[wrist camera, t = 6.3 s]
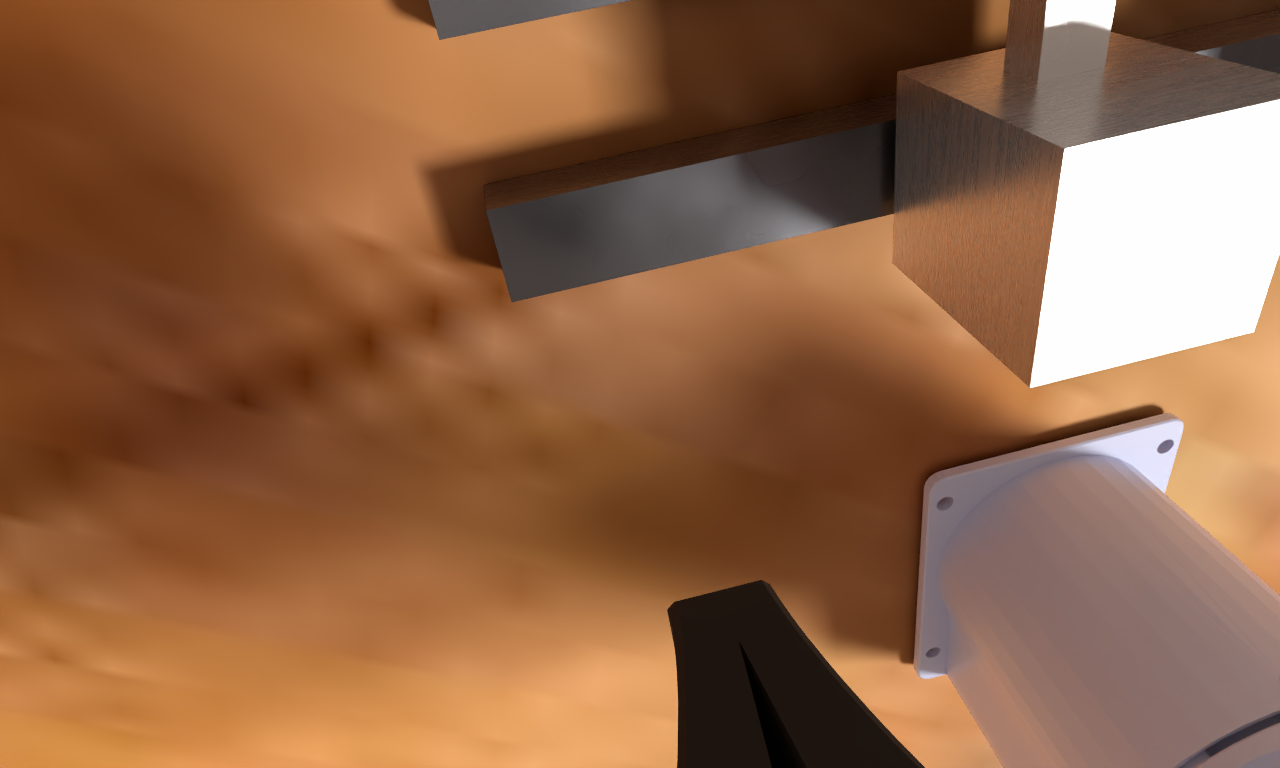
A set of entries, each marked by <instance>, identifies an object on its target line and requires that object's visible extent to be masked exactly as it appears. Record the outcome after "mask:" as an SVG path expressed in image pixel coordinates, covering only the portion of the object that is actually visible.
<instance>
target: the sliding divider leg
mask: <svg viewBox="0 0 1280 768" xmlns="http://www.w3.org/2000/svg"><path fill="white" fill-rule="evenodd" d="M1115 2H1116V0H1010V7H1009V17H1008V28H1007V38H1006V48H1003V49H998V50H994V51H989V52H985V53H980V54H976V55H971V56H966V57H962V58H957V59H953V60H948V61H944V62H939V63H934V64H930V65H925V66H921V67H916V68H912V69H907V70H903V71H898V72H897V104H896V145H895V187H894V229H893V264H894V265H895V266H896V267H897V268H898V269H899V270H901V271H902V272H903V273H904V274H905V275H906V276H907V277H908V278H909V279H910V280H912V281H913V282H914V283H915V284H916V285H917V286H918V287H919V288H920V289H921V290H923V291H924V292H925V293H926V294H927V295H928V296H929V297H930V298H931V299H933V300H934V301H935V302H936V303H937V304H938V305H939V306H940V307H941V308H942V309H944V310H945V311H946V312H947V313H948V314H949V315H950V316H951V317H952V318H953V319H955V320H956V321H957V322H958V323H959V324H960V325H961V326H962V327H963V328H964V329H966V330H967V331H968V332H969V333H970V334H971V335H972V336H973V337H974V338H975V339H977V340H978V341H979V342H980V343H981V344H982V345H983V346H984V347H985V348H987V349H988V350H989V351H990V352H991V353H992V354H993V355H994V356H995V357H996V358H998V359H999V360H1000V361H1001V362H1002V363H1003V364H1004V365H1005V366H1006V367H1007V368H1009V369H1010V370H1011V371H1012V372H1013V373H1014V374H1015V375H1016V376H1017V377H1018V378H1020V379H1021V380H1022V381H1023V382H1024V383H1025V384H1026V385H1027V386H1028V387H1030V388H1032V387H1036V386H1040V385H1044V384H1048V383H1052V382H1056V381H1060V380H1064V379H1068V378H1072V377H1076V376H1080V375H1084V374H1088V373H1092V372H1096V371H1100V370H1103V369H1107V368H1111V367H1115V366H1119V365H1123V364H1127V363H1131V362H1135V361H1139V360H1143V359H1147V358H1151V357H1155V356H1159V355H1163V354H1167V353H1171V352H1175V351H1179V350H1183V349H1187V348H1191V347H1195V346H1199V345H1203V344H1207V343H1211V342H1215V341H1219V340H1223V339H1227V338H1231V337H1235V336H1239V335H1243V334H1247V333H1251V332H1254V330H1255V327H1256V324H1257V320H1258V317H1259V314H1260V311H1261V308H1262V305H1263V302H1264V299H1265V296H1266V293H1267V290H1268V287H1269V283H1270V280H1271V277H1272V274H1273V271H1274V268H1275V265H1276V262H1277V259H1278V256H1279V253H1280V74H1278V73H1274V72H1270V71H1266V70H1262V69H1258V68H1254V67H1250V66H1246V65H1242V64H1238V63H1234V62H1230V61H1226V60H1222V59H1218V58H1214V57H1209V56H1205V55H1201V54H1197V53H1193V52H1189V51H1185V50H1181V49H1177V48H1173V47H1169V46H1165V45H1161V44H1157V43H1153V42H1149V41H1145V40H1141V39H1137V38H1133V37H1129V36H1125V35H1121V34H1117V33H1113V32H1111V26H1112V20H1113V14H1114V8H1115Z"/></svg>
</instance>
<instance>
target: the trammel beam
mask: <svg viewBox="0 0 1280 768" xmlns="http://www.w3.org/2000/svg"><path fill="white" fill-rule="evenodd" d="M1143 40H1145V41H1149V42H1153V43H1157V44H1161V45H1165V46H1169V47H1173V48H1177V49H1181V50H1185V51H1189V52H1193V53H1197V54H1201V55H1205V56H1209V57H1214V58H1218V59H1222V60H1226V61H1230V62H1234V63H1238V64H1242V65H1246V66H1250V67H1254V68H1258V69H1262V70H1266V71H1270V72H1274V73H1278V74H1280V9H1279V10H1274V11H1269V12H1265V13H1260V14H1256V15H1251V16H1247V17H1242V18H1238V19H1233V20H1229V21H1224V22H1220V23H1215V24H1211V25H1206V26H1202V27H1197V28H1192V29H1188V30H1183V31H1179V32H1174V33H1170V34H1165V35H1161V36H1156V37H1152V38H1147V39H1143ZM896 104H897V94H894V95H889V96H885V97H880V98H876V99H871V100H867V101H862V102H857V103H853V104H848V105H844V106H839V107H835V108H830V109H826V110H821V111H817V112H812V113H808V114H803V115H799V116H794V117H790V118H785V119H780V120H776V121H771V122H767V123H762V124H758V125H753V126H749V127H744V128H740V129H735V130H731V131H726V132H722V133H717V134H713V135H708V136H704V137H699V138H694V139H690V140H685V141H681V142H676V143H672V144H667V145H663V146H658V147H654V148H649V149H645V150H640V151H636V152H631V153H627V154H622V155H618V156H613V157H608V158H604V159H599V160H595V161H590V162H586V163H581V164H577V165H572V166H568V167H563V168H559V169H554V170H550V171H545V172H541V173H536V174H531V175H527V176H522V177H518V178H513V179H509V180H504V181H500V182H495V183H491V184H486V185H484V194H485V206H486V213H487V217H488V220H489V224H490V227H491V231H492V234H493V238H494V241H495V245H496V248H497V252H498V255H499V259H500V262H501V266H502V270H503V273H504V277H505V280H506V284H507V287H508V291H509V294H510V298H511V301H512V302H515V301H519V300H523V299H528V298H532V297H536V296H541V295H545V294H549V293H554V292H558V291H562V290H567V289H571V288H575V287H579V286H584V285H588V284H592V283H597V282H601V281H605V280H610V279H614V278H618V277H623V276H627V275H631V274H636V273H640V272H644V271H648V270H653V269H657V268H661V267H666V266H670V265H674V264H679V263H683V262H687V261H692V260H696V259H700V258H705V257H709V256H713V255H717V254H722V253H726V252H730V251H735V250H739V249H743V248H748V247H752V246H756V245H761V244H765V243H769V242H774V241H778V240H782V239H787V238H791V237H795V236H799V235H804V234H808V233H812V232H817V231H821V230H825V229H830V228H834V227H838V226H843V225H847V224H851V223H856V222H860V221H864V220H868V219H873V218H877V217H881V216H886V215H890V214H894V187H895V145H896Z"/></svg>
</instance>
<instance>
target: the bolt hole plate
mask: <svg viewBox="0 0 1280 768" xmlns="http://www.w3.org/2000/svg"><path fill="white" fill-rule="evenodd" d="M428 1H429V5H430V8H431V12H432V15H433V19H434V22H435V26H436V29H437V33H438V36H439V40H441V39H446V38H451V37H456V36H461V35H466V34H470V33H475V32H480V31H485V30H490V29H495V28H499V27H504V26H509V25H514V24H519V23H523V22H528V21H533V20H538V19H543V18H548V17H552V16H557V15H562V14H567V13H572V12H577V11H581V10H586V9H591V8H596V7H601V6H606V5H610V4H615V3H620V2H625V1H630V0H428Z"/></svg>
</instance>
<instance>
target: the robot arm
mask: <svg viewBox="0 0 1280 768" xmlns="http://www.w3.org/2000/svg"><path fill="white" fill-rule="evenodd" d="M1183 428H1184V423H1183V422H1182V420H1180V419H1179V418H1178V417H1177V416H1175V415H1174V414H1171V413H1164V414H1160V415H1156V416H1152V417H1148V418H1145V419H1141V420H1137V421H1133V422H1129V423H1125V424H1121V425H1117V426H1113V427H1109V428H1106V429H1102V430H1098V431H1094V432H1090V433H1086V434H1082V435H1078V436H1074V437H1071V438H1067V439H1063V440H1059V441H1055V442H1051V443H1047V444H1043V445H1039V446H1035V447H1032V448H1028V449H1024V450H1020V451H1016V452H1012V453H1008V454H1004V455H1000V456H996V457H993V458H989V459H985V460H981V461H977V462H973V463H969V464H965V465H961V466H957V467H954V468H950V469H946V470H942V471H939V472H936V473H934V474H933V475H932V476H930V477H929V478H928V480H927V481H926V483H925V486H924V497H923V514H922V531H921V548H920V565H919V582H918V599H917V616H916V633H915V650H914V669H915V671H916V673H917V674H918V676H919V677H920V678H924V679H929V678H934V677H937V676H941V675H945V674H947V675H948V677H949V678H950V680H951V682H952V683H953V685H954V687H955V688H956V690H957V692H958V693H959V695H960V696H961V698H962V700H963V701H964V703H965V705H966V706H967V708H968V710H969V711H970V713H971V715H972V716H973V718H974V720H975V721H976V723H977V725H978V726H979V728H980V729H981V731H982V733H983V734H984V736H985V738H986V739H987V741H988V743H989V744H990V746H991V748H992V749H993V751H994V753H995V754H996V756H997V758H998V759H999V761H1000V762H1001V764H1002V766H1003V767H1004V768H1280V595H1279V594H1278V593H1276V592H1275V591H1274V590H1273V589H1272V588H1271V587H1270V586H1268V585H1267V584H1266V583H1265V582H1264V581H1263V580H1262V579H1261V578H1259V577H1258V576H1257V575H1256V574H1255V573H1254V572H1253V571H1251V570H1250V569H1249V568H1248V567H1247V566H1246V565H1245V564H1244V563H1242V562H1241V561H1240V560H1239V559H1238V558H1237V557H1236V556H1235V555H1233V554H1232V553H1231V552H1230V551H1229V550H1228V549H1227V548H1225V547H1224V546H1223V545H1222V544H1221V543H1220V542H1219V541H1218V540H1216V539H1215V538H1214V537H1213V536H1212V535H1211V534H1210V533H1209V532H1207V531H1206V530H1205V529H1204V528H1203V527H1202V526H1201V525H1199V524H1198V523H1197V522H1196V521H1195V520H1194V519H1193V518H1192V517H1190V516H1189V515H1188V514H1187V513H1186V512H1185V511H1184V510H1182V509H1181V508H1180V507H1179V506H1178V505H1177V504H1176V503H1175V502H1173V501H1172V500H1171V499H1170V498H1169V497H1168V496H1167V495H1166V494H1165V491H1166V488H1167V484H1168V481H1169V477H1170V474H1171V470H1172V467H1173V463H1174V460H1175V456H1176V453H1177V450H1178V446H1179V443H1180V439H1181V436H1182V432H1183ZM942 498H943V499H942ZM941 499H942V500H941ZM667 611H668V616H669V621H670V626H671V631H672V636H673V641H674V647H675V654H676V665H677V683H678V762H677V768H925V767H924V766H923V765H922V764H921V763H920V762H919V761H918V760H917V759H916V758H915V757H914V756H913V755H912V754H911V753H910V752H909V751H908V750H907V749H906V748H905V747H904V746H903V745H902V744H901V743H900V742H899V741H898V740H897V739H896V738H895V737H894V736H893V735H892V733H891V732H890V731H889V730H888V729H887V728H886V727H885V726H884V725H883V724H882V723H881V722H880V721H879V720H878V719H877V718H876V716H875V715H874V714H873V713H872V712H871V711H870V710H869V709H868V708H867V706H866V705H865V704H864V703H863V702H862V701H861V700H860V699H859V697H858V696H857V695H856V694H855V693H854V692H853V691H852V690H851V689H850V687H849V686H848V685H847V684H846V683H845V682H844V681H843V680H842V678H841V677H840V676H839V675H838V674H837V673H836V671H835V670H834V669H833V668H832V667H831V665H830V664H829V663H828V662H827V661H826V659H825V658H824V657H823V656H822V655H821V653H820V652H819V651H818V650H817V648H816V647H815V646H814V645H813V643H812V642H811V641H810V640H809V638H808V637H807V636H806V635H805V633H804V632H803V631H802V629H801V628H800V627H799V625H798V624H797V623H796V621H795V620H794V619H793V617H792V616H791V615H790V613H789V612H788V611H787V609H786V608H785V606H784V605H783V603H782V602H781V601H780V599H779V598H778V596H777V595H776V593H775V592H774V590H773V589H772V587H771V585H770V584H768V583H766V582H764V581H762V580H759V581H755V582H752V583H748V584H744V585H740V586H736V587H732V588H728V589H724V590H720V591H716V592H712V593H708V594H704V595H700V596H696V597H692V598H688V599H684V600H680V601H676V602H674V603H673V604H672V605H671V606H670V607H669V608H668V610H667Z"/></svg>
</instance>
